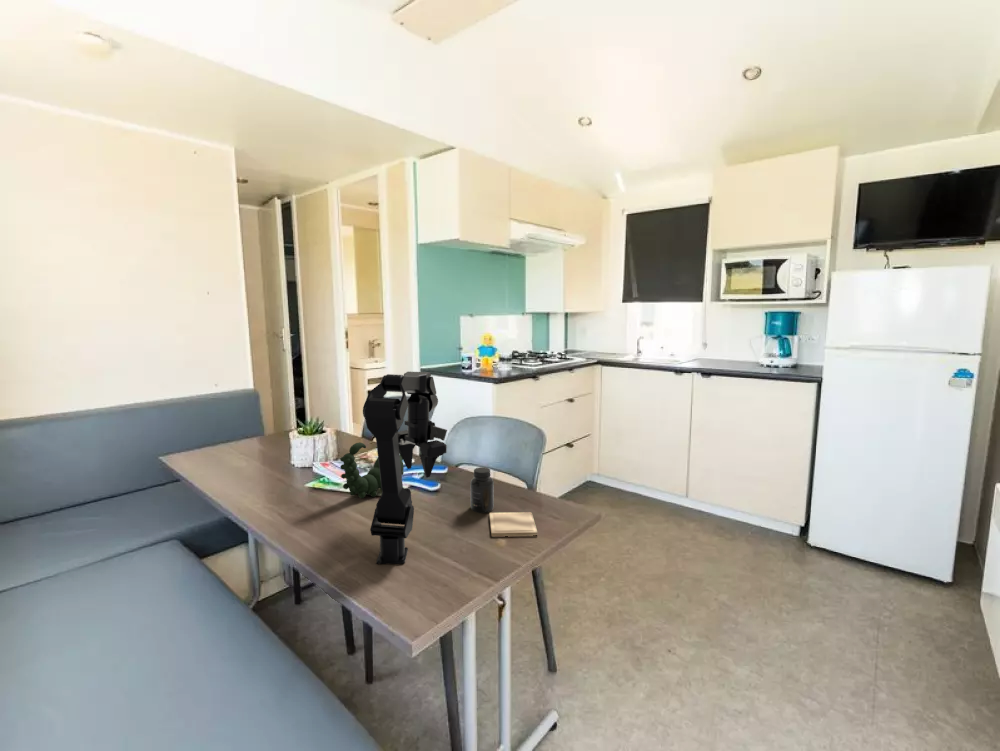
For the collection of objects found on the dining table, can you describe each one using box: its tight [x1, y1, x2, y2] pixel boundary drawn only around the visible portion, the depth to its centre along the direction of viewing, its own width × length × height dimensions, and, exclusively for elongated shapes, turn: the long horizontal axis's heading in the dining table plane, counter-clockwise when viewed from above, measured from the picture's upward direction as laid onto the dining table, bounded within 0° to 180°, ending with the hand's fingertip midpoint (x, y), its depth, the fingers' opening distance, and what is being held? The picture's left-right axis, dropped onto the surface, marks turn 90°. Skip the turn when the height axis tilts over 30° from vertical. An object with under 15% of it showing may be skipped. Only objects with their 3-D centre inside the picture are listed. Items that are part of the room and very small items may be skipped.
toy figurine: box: [339, 442, 405, 499], centre depth 150 cm, size 9×19×25 cm
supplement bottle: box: [470, 466, 495, 514], centre depth 138 cm, size 7×7×12 cm
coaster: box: [489, 511, 538, 538], centre depth 129 cm, size 12×12×1 cm
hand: (418, 472), depth 131 cm, fingers open, 9 cm apart
